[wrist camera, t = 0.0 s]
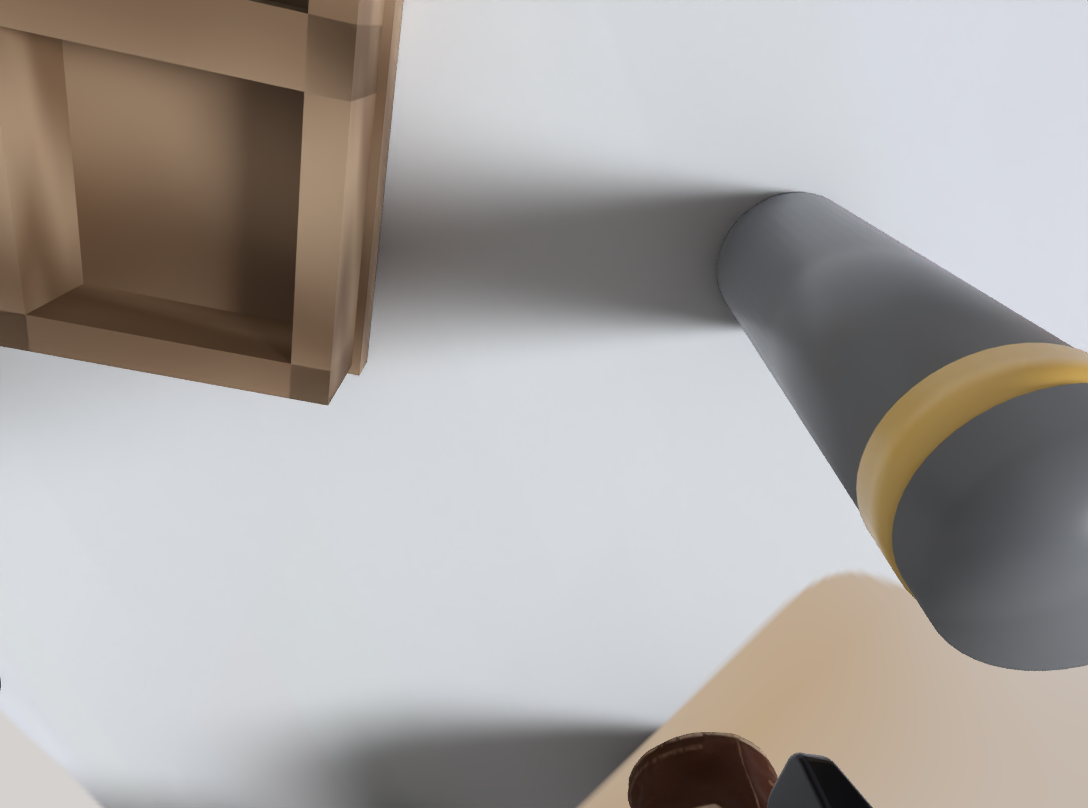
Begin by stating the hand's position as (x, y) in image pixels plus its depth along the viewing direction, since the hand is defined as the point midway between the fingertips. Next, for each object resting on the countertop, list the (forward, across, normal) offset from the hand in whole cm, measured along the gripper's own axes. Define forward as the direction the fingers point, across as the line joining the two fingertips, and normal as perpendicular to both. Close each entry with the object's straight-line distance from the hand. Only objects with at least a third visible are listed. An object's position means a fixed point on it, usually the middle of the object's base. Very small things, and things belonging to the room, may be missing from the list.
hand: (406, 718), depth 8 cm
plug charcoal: (+15, -8, -3) cm, 17 cm away
